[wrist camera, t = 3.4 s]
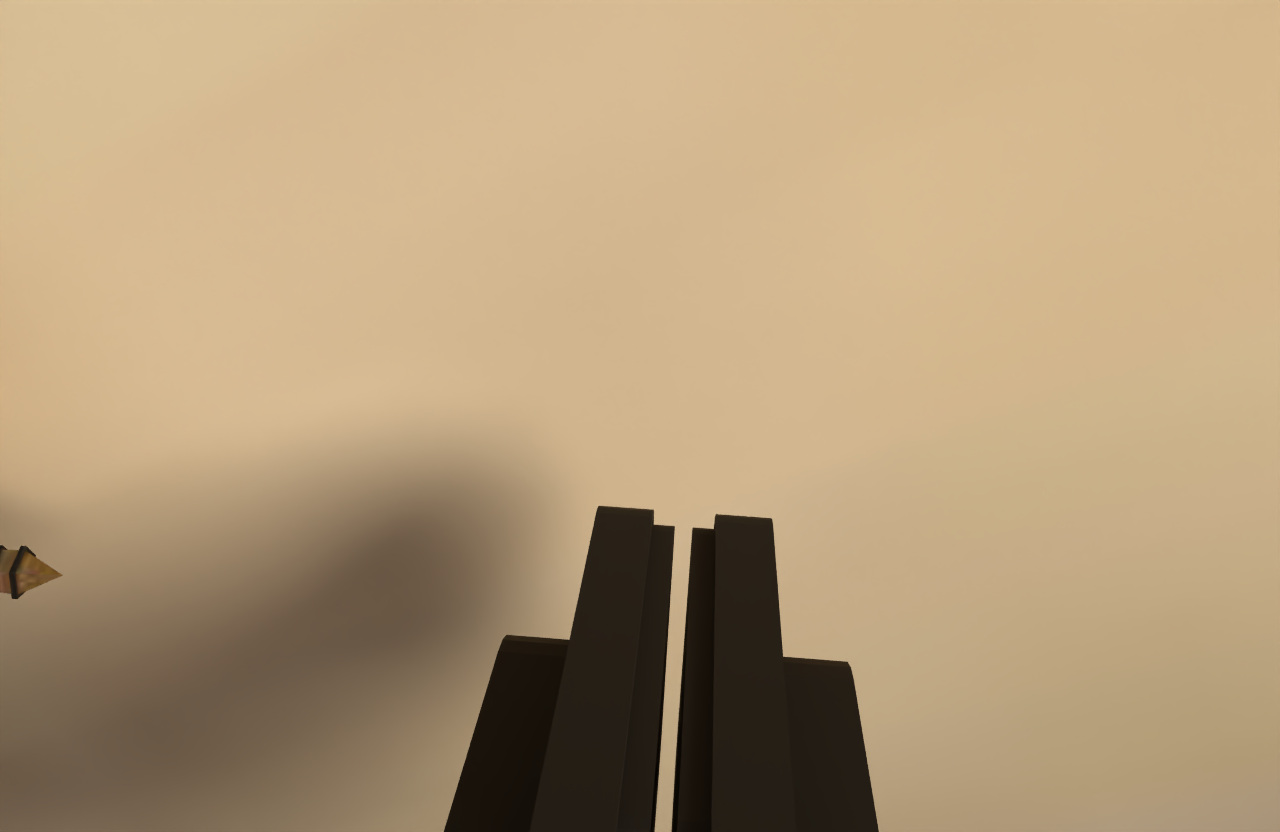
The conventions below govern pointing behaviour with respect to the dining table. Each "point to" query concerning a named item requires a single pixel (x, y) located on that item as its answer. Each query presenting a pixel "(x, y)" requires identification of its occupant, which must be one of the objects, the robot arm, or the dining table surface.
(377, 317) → the dining table surface
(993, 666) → the dining table surface
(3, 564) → the game die
